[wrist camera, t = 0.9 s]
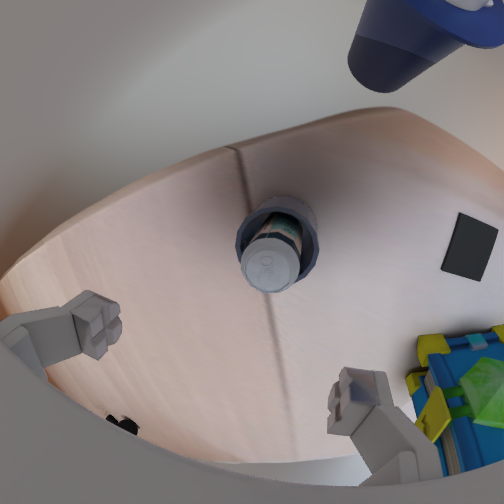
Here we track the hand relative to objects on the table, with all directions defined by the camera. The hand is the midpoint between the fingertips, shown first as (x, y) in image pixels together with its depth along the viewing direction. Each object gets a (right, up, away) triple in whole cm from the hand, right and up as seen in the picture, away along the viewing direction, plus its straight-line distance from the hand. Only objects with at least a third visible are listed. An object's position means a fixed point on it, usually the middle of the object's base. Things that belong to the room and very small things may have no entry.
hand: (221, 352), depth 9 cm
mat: (+31, +4, +19) cm, 36 cm away
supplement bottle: (+5, +6, +24) cm, 25 cm away
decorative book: (+36, -14, +24) cm, 46 cm away
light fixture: (-38, -44, +52) cm, 78 cm away
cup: (+5, +6, +24) cm, 25 cm away
